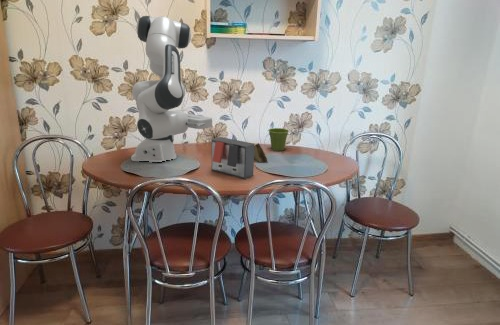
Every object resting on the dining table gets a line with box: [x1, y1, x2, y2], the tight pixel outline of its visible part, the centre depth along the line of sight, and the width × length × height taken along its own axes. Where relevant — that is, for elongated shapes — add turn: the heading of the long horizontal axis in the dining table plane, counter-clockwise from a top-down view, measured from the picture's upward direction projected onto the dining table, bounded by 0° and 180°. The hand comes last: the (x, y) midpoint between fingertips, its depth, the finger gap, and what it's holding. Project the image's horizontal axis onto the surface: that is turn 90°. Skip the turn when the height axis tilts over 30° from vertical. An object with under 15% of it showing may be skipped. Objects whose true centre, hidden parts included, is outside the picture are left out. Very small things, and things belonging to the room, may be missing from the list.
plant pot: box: [268, 127, 290, 152], centre depth 203 cm, size 12×12×11 cm
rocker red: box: [213, 142, 224, 163], centre depth 159 cm, size 2×4×9 cm, turn 57°
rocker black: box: [227, 145, 239, 167], centre depth 155 cm, size 2×4×9 cm, turn 56°
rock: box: [254, 142, 269, 163], centre depth 184 cm, size 11×9×10 cm
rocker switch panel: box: [211, 136, 255, 180], centre depth 161 cm, size 7×19×15 cm, turn 57°
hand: (201, 117), depth 144 cm, fingers closed
